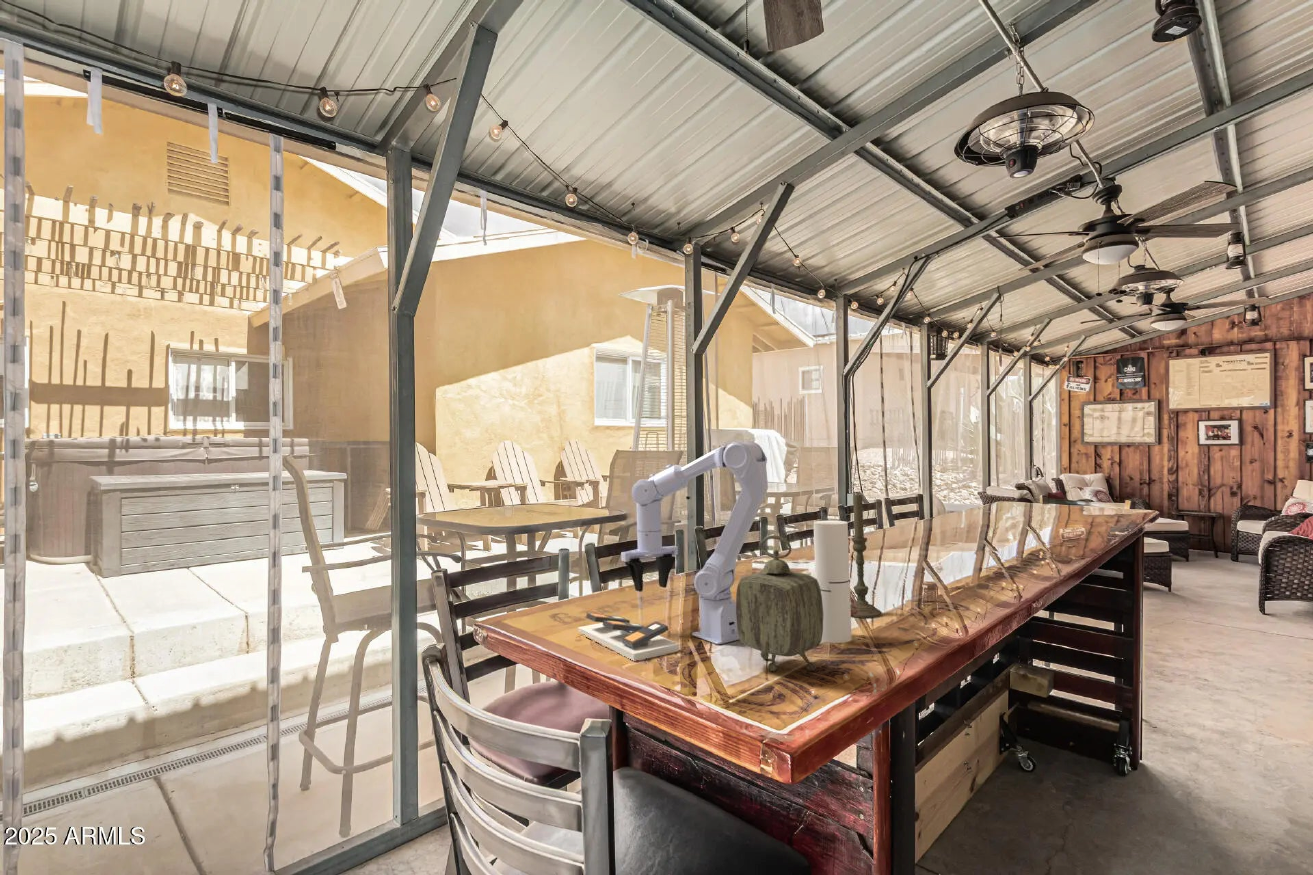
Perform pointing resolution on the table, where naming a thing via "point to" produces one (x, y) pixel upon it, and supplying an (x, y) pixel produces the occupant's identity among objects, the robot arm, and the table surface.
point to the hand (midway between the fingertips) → (651, 588)
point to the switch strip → (640, 652)
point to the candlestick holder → (860, 565)
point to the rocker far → (606, 618)
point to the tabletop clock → (779, 610)
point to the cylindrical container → (833, 579)
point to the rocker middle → (622, 626)
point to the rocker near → (644, 634)
